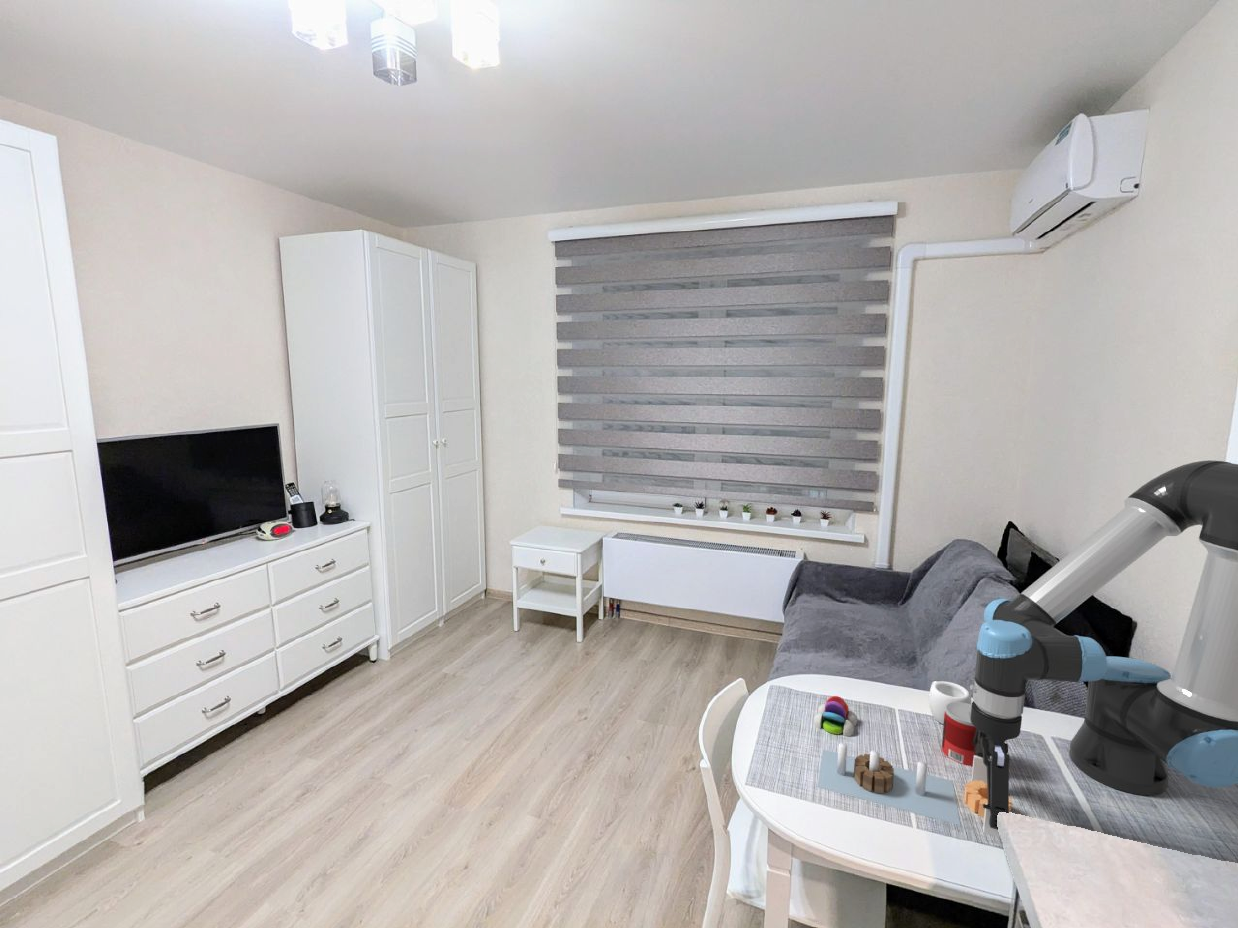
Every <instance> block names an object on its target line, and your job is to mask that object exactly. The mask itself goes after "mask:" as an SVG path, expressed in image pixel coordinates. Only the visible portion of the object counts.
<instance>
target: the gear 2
mask: <svg viewBox="0 0 1238 928" xmlns="http://www.w3.org/2000/svg"><path fill="white" fill-rule="evenodd" d="M964 787H965V789H964V803H965V805H967V808H968V809H969V810H971V812H972V813H974V814H976V813H977V816H979V817H981V818H983V819H984V815H985V808H983V804H988V795H987V783H986V784H985V783H984V782H983V781H976V780H974V782H972V780H971V781H969V782H967V783H966V784H965V786H964ZM1012 805H1013V802H1012V800H1011V796H1009V812H1011V813H1012Z"/></svg>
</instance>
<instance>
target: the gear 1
mask: <svg viewBox="0 0 1238 928" xmlns="http://www.w3.org/2000/svg"><path fill="white" fill-rule="evenodd" d="M869 765H870V753H864V754H860V755H859V754H858V755H857V756H856V759H855V763H854V778H855V781H856V782H857V783H858V784H859V785H863V788H864V789H866V790H869V791H872V789H873V790H874V792H875V793H884V791H885V792H886V793H887V792H888V791H890V790H892V788H893V779H894V768H892V766H893V765H892V764H891V763H890V762H889V761H888V760H885V758H883V757H881V756H879V766H878V772H874V771H871V770H869Z"/></svg>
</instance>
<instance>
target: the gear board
mask: <svg viewBox="0 0 1238 928" xmlns="http://www.w3.org/2000/svg"><path fill="white" fill-rule="evenodd" d="M837 747H838V748H837V749H838V750H837V752H836V751H832V750H826V749H822V752H821V753H822V754H821V760H820V767H819V776H818V781H817V788H819V789H823V790H827V791H831V792H834V793H839V794H841V795H845V796H850V797H853V798H856V799H859V800H864V801H868V802H871V803H875V804H878V805H881V806H882V805H883V806H885V807H886V806H887V807H889V808H893V809H898V810H899V811H900V810H901V811H904V812H909V813H911V814H916V815H919V816H924V817H927V818H929V819H934V820H937V821H941V822H944V823H948V824H949V823H950V824H953V825H957V826H961V825H962V824H961V820H960V815H959V809H958V804H957V798H956V793H955V792H956V791H955V788H954V787H955V785H954V782H953V780H950V779H946V778H941V777H939V776H934V775H930V774H928V773H927V771H928V763H925V762H923V761H918V762H917V766H916V771H913V770H908V769H906V768H901V767H897V766H894V765H892V768H894V779H893V788H892V790H890V791H888V792H887V793H886V792H885V791H884V793H875V792H874V790H873V789H872V791H869V790H866V789H864V788H863V785H859V784H858V783H857V782H856V781H855V778H854V763H855V759H856V757H857V756H856V757H855V756H852V755H847V754H848V745H847V744H846V743H844V742H840V743H838V746H837ZM869 754H870V765H869V770H871V771H874V772H878V766H879V757H880V753H879V751H877V750H871V751H870V752H869Z"/></svg>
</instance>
